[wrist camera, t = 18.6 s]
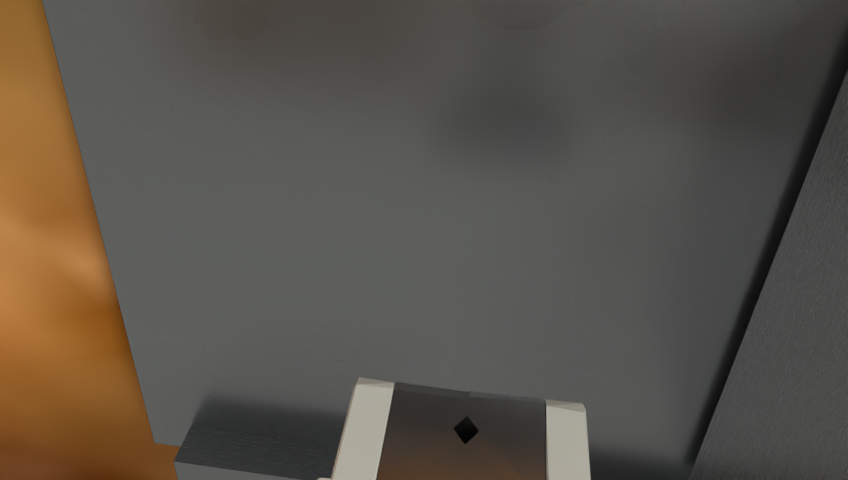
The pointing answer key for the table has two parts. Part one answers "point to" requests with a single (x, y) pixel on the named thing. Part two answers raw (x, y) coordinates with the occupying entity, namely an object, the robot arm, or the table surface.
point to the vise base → (441, 206)
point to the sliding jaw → (794, 343)
